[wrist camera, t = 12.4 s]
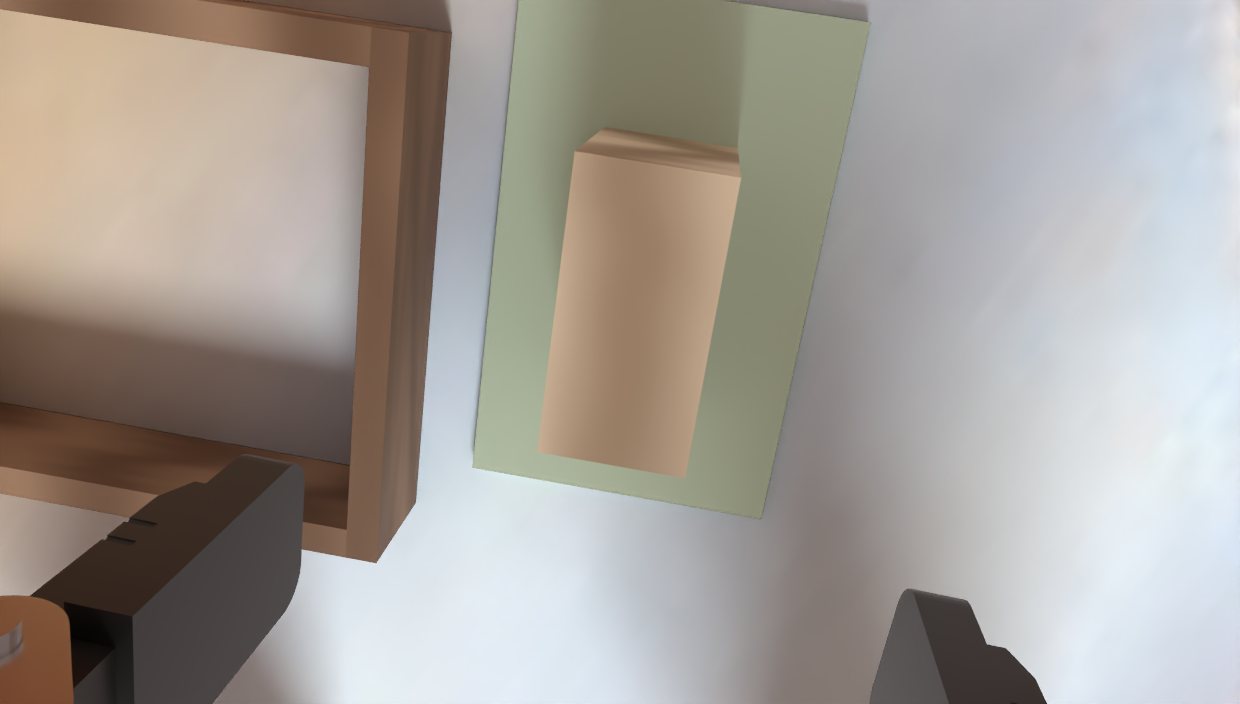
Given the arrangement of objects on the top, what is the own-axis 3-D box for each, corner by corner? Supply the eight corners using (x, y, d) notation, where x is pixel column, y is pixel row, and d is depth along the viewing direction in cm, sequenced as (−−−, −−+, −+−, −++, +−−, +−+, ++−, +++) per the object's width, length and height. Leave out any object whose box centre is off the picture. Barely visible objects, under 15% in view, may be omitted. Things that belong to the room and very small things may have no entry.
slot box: (451, 32, 28) (408, 32, 24) (415, 502, 33) (375, 563, 29) (-118, -55, 29) (-245, -69, 25) (-63, 415, 34) (-160, 463, 30)
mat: (868, 22, 26) (870, 22, 26) (760, 513, 32) (761, 519, 31) (524, -30, 27) (521, -30, 27) (475, 462, 32) (472, 467, 32)
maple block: (737, 147, 28) (740, 177, 22) (692, 395, 30) (685, 478, 25) (604, 126, 28) (574, 151, 22) (571, 374, 30) (537, 452, 25)
